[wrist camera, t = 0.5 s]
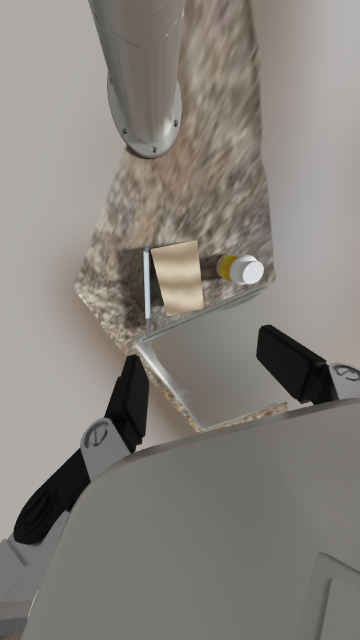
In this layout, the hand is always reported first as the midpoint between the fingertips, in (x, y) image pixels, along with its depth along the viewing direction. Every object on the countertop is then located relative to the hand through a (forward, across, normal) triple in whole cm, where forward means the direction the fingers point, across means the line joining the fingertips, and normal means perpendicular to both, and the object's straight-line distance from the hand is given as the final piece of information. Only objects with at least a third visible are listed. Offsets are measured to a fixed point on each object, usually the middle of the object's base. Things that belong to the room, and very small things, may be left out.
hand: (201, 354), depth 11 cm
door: (+32, +7, +2) cm, 33 cm away
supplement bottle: (+33, -17, -1) cm, 37 cm away
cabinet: (+33, -2, -1) cm, 33 cm away
